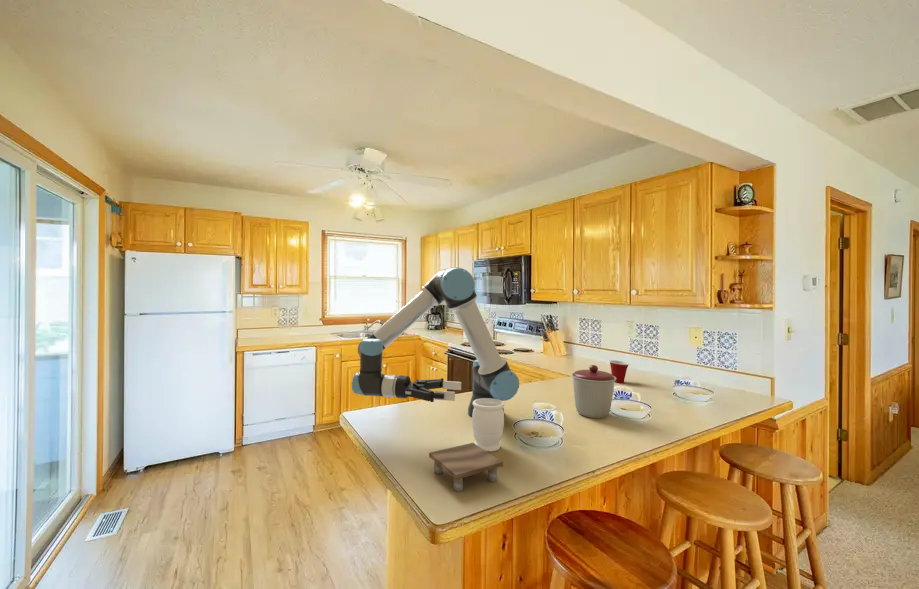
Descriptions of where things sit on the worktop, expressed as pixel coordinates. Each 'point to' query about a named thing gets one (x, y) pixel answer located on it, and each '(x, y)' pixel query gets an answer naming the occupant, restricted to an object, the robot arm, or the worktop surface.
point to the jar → (488, 423)
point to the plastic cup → (618, 370)
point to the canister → (593, 392)
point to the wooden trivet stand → (465, 463)
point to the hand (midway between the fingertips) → (458, 391)
